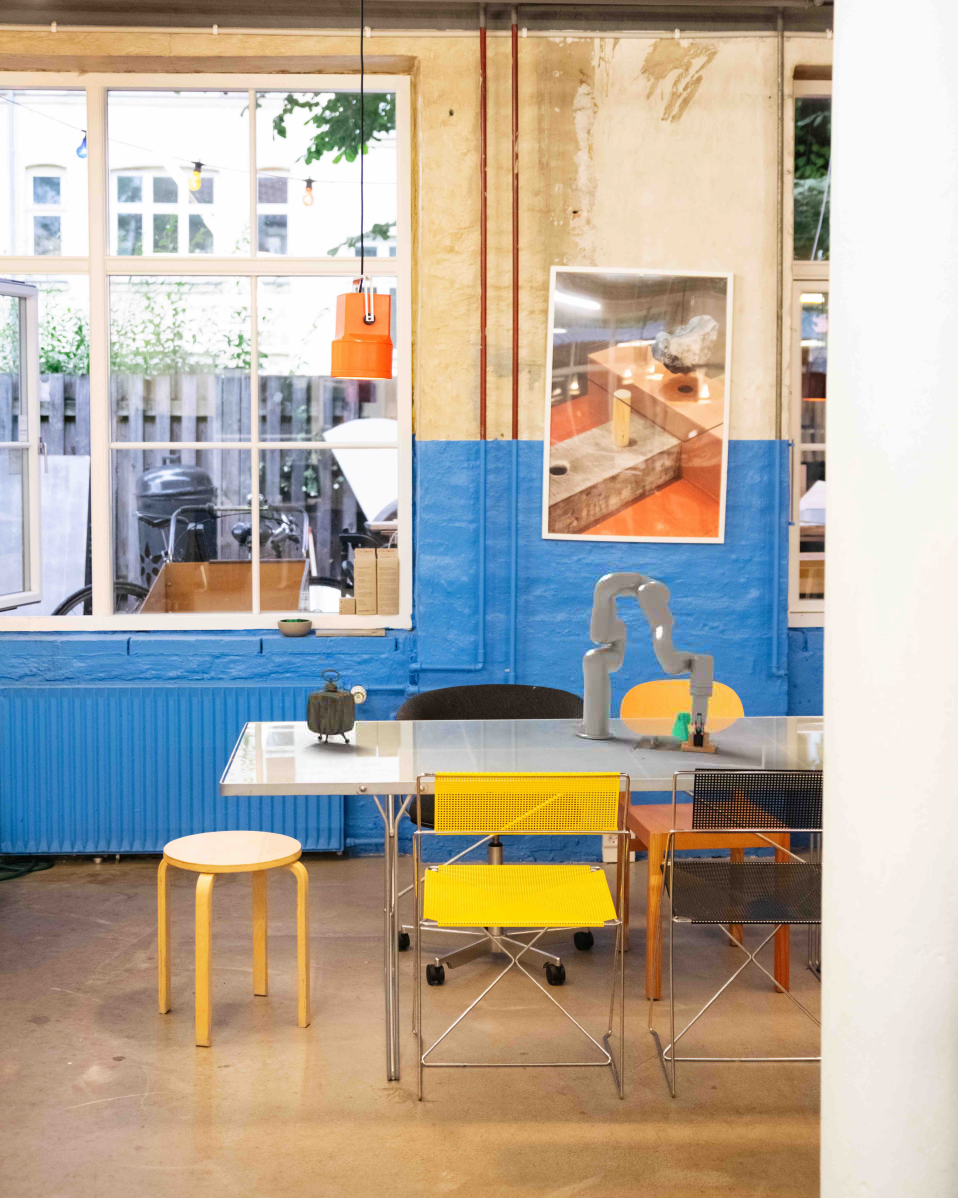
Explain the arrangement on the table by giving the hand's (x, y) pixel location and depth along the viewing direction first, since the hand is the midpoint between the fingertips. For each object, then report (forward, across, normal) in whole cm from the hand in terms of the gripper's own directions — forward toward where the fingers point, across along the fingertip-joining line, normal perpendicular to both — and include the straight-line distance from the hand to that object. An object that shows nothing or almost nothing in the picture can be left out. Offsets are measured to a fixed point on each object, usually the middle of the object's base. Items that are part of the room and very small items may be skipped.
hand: (698, 743), depth 385 cm
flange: (+2, 0, 0) cm, 2 cm away
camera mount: (+3, -20, -4) cm, 20 cm away
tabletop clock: (+4, +32, -120) cm, 124 cm away
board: (+3, 0, -7) cm, 8 cm away
